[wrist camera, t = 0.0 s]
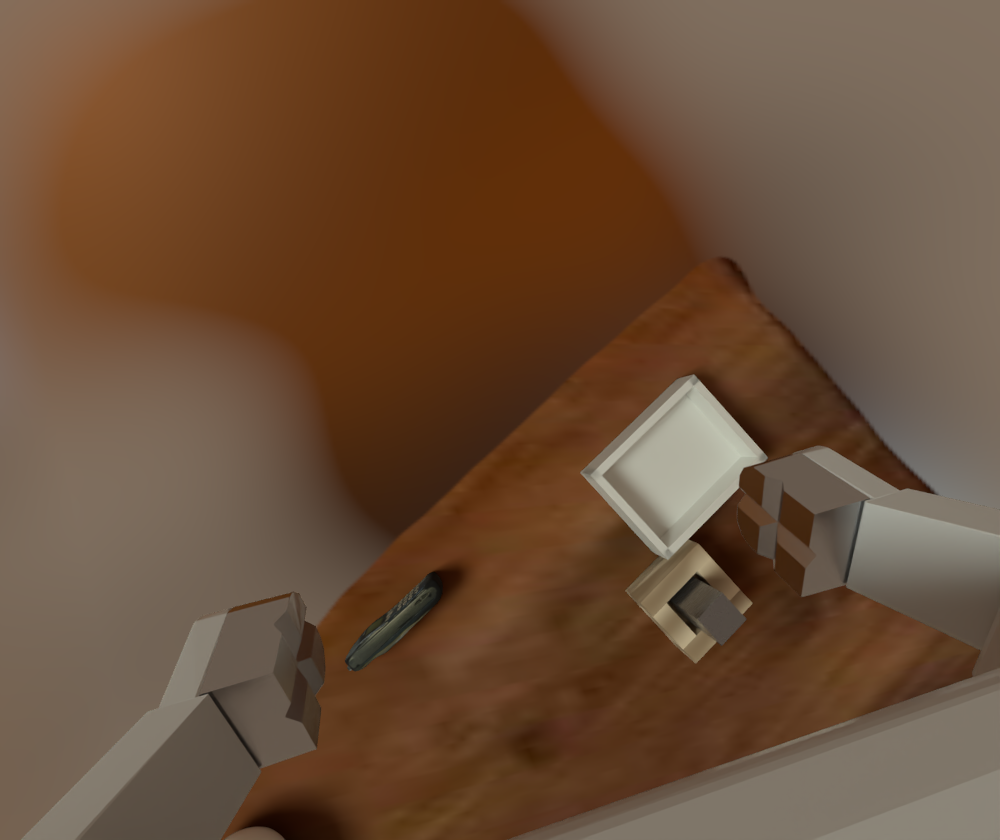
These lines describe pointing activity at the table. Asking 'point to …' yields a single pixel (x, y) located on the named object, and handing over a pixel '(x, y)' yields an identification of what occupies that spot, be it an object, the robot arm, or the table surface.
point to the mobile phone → (395, 623)
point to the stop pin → (707, 610)
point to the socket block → (668, 580)
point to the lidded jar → (255, 834)
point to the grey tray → (673, 465)
